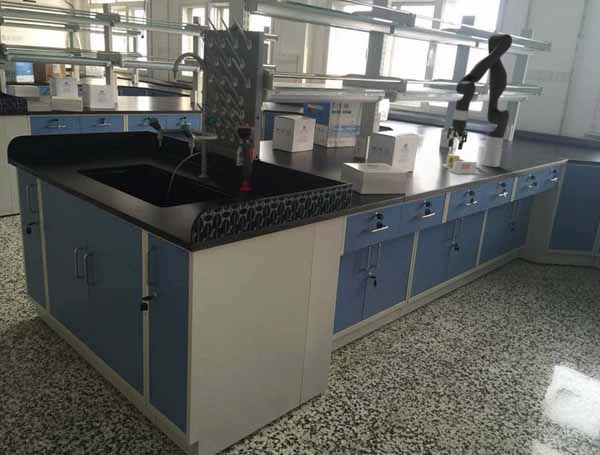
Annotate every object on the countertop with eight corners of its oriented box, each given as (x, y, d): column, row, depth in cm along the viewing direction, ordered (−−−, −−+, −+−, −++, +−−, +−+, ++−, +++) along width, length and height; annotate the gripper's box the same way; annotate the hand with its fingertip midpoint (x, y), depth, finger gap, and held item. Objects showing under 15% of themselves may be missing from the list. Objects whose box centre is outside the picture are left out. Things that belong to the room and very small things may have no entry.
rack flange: (469, 170, 292) (471, 160, 290) (478, 174, 285) (480, 163, 283) (448, 170, 287) (450, 160, 285) (457, 174, 280) (459, 163, 278)
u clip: (452, 161, 299) (453, 154, 297) (458, 163, 294) (459, 156, 293) (446, 161, 297) (447, 154, 296) (452, 163, 292) (453, 156, 291)
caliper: (452, 166, 302) (454, 155, 300) (453, 166, 303) (455, 155, 301) (487, 173, 291) (490, 162, 289) (488, 173, 291) (490, 162, 289)
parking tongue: (452, 166, 302) (454, 155, 300) (461, 169, 294) (463, 158, 293) (441, 166, 299) (443, 155, 297) (449, 169, 292) (451, 158, 290)
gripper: (474, 120, 283) (468, 150, 288) (457, 117, 296) (452, 146, 300) (462, 120, 280) (457, 150, 285) (446, 116, 293) (441, 145, 298)
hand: (454, 148), depth 293 cm, fingers open, 8 cm apart
